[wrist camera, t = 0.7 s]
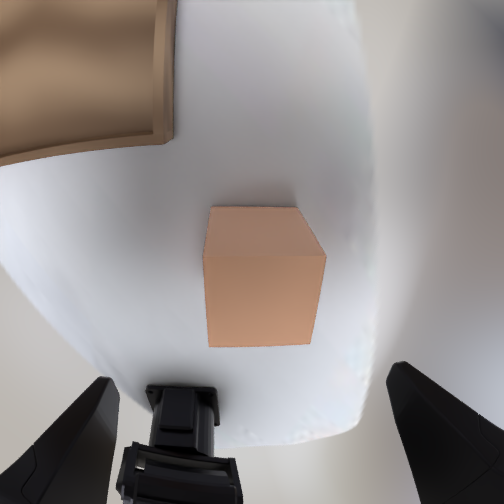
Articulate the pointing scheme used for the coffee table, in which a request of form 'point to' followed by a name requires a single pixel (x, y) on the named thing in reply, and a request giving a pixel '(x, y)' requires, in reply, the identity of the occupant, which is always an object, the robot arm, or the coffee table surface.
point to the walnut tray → (84, 76)
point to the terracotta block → (261, 277)
